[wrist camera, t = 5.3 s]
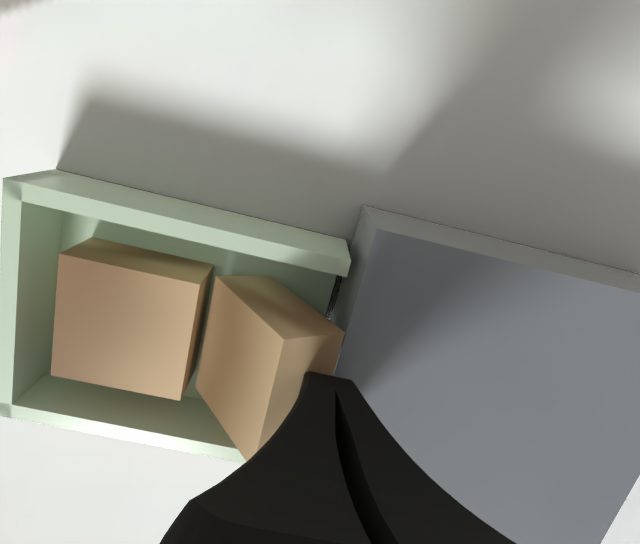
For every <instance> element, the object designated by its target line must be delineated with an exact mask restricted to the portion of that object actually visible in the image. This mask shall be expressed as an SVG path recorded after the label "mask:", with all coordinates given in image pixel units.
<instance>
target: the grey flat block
mask: <svg viewBox="0 0 640 544" xmlns="http://www.w3.org/2000/svg"><path fill="white" fill-rule="evenodd" d="M349 255H350V258H351V264H350V267H349V271H348V274H347V277H343V278H342V281H341V285H340V288H339V292H338V296H337V299H336V303H335V306H334V310H333V313H332V317H331V322H332V323H333V324H335V325H336V326H337V327H339V328H340V329H341V330H342V331H344V332H345V335H344V338H343V342H342V345H341V349H340V352H339V356H338V359H337V363H336V366H335V370H334V373H333V376H335V377H340V378H345V379H349V380H352V381H353V382H354V384H355V385H356V386H357V388H358V389H359V391H360V392H361V394H362V395H363V397H364V398H365V400H366V401H367V403H368V404H369V406H370V407H371V408H372V410H373V411H374V413H375V414H376V416H377V417H378V418H379V420H380V421H381V422H382V424H383V425H384V426H385V428H386V429H387V430H388V431H389V433H390V434H391V435H392V437H393V438H394V439H395V440H396V441H397V442H398V444H399V445H400V446H401V447H402V448H403V450H404V451H405V452H406V453H407V454H408V455H409V456H410V457H411V458H412V460H413V461H414V462H415V463H416V464H417V465H418V466H419V467H420V468H421V469H422V470H423V471H424V472H425V473H426V474H427V475H428V476H429V477H430V478H431V479H432V480H434V481H435V482H436V483H437V484H438V485H439V486H440V487H441V488H442V489H444V490H445V491H446V492H447V493H448V494H450V495H451V496H452V497H453V498H454V499H455V500H457V501H458V502H459V503H460V504H461V505H463V506H464V507H465V508H467V509H468V510H469V511H470V512H472V513H473V514H474V515H476V516H477V517H478V518H480V519H481V520H483V521H484V522H485V523H487V524H488V525H490V526H491V527H492V528H494V529H495V530H497V531H498V532H499V533H501V534H502V535H504V536H505V537H507V538H508V539H510V540H512V541H513V542H515V543H517V544H600V543H601V541H602V540H603V538H604V536H605V534H606V533H607V531H608V529H609V527H610V526H611V524H612V522H613V520H614V519H615V517H616V515H617V513H618V512H619V510H620V508H621V506H622V505H623V503H624V501H625V499H626V498H627V496H628V494H629V492H630V491H631V489H632V487H633V485H634V484H635V482H636V480H637V478H638V477H639V475H640V274H637V273H633V272H629V271H625V270H621V269H617V268H613V267H609V266H605V265H601V264H597V263H593V262H589V261H585V260H581V259H577V258H573V257H569V256H565V255H561V254H557V253H553V252H549V251H545V250H541V249H537V248H533V247H529V246H525V245H521V244H517V243H513V242H509V241H505V240H501V239H497V238H493V237H489V236H485V235H481V234H477V233H473V232H469V231H465V230H460V229H456V228H452V227H448V226H444V225H440V224H436V223H432V222H428V221H424V220H420V219H416V218H412V217H408V216H404V215H400V214H396V213H392V212H388V211H384V210H380V209H376V208H372V207H368V206H364V205H363V206H362V210H361V213H360V217H359V221H358V224H357V228H356V231H355V235H354V238H353V242H352V246H351V249H350V253H349Z"/></svg>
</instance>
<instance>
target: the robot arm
mask: <svg viewBox="0 0 640 544" xmlns="http://www.w3.org/2000/svg"><path fill="white" fill-rule="evenodd" d="M160 544H517V543H515V542H513V541H512V540H510V539H508V538H507V537H505V536H504V535H502V534H501V533H499V532H498V531H497V530H495V529H494V528H492V527H491V526H490V525H488V524H487V523H485V522H484V521H483V520H481V519H480V518H478V517H477V516H476V515H474V514H473V513H472V512H470V511H469V510H468V509H467V508H465V507H464V506H463V505H461V504H460V503H459V502H458V501H457V500H455V499H454V498H453V497H452V496H451V495H450V494H448V493H447V492H446V491H445V490H444V489H442V488H441V487H440V486H439V485H438V484H437V483H436V482H435V481H434V480H432V479H431V478H430V477H429V476H428V475H427V474H426V473H425V472H424V471H423V470H422V469H421V468H420V467H419V466H418V465H417V464H416V463H415V462H414V461H413V460H412V458H411V457H410V456H409V455H408V454H407V453H406V452H405V451H404V450H403V448H402V447H401V446H400V445H399V444H398V442H397V441H396V440H395V439H394V438H393V437H392V435H391V434H390V433H389V431H388V430H387V429H386V428H385V426H384V425H383V424H382V422H381V421H380V420H379V418H378V417H377V416H376V414H375V413H374V411H373V410H372V408H371V407H370V406H369V404H368V403H367V401H366V400H365V398H364V397H363V395H362V394H361V392H360V391H359V389H358V388H357V386H356V385H355V384H354V382H353V381H352V380H349V379H345V378H340V377H335V376H331V375H326V374H321V373H317V372H312V371H308V372H307V373H305V374H304V377H303V381H302V384H301V388H300V392H299V395H298V398H297V400H296V402H295V404H294V405H293V407H292V409H291V411H290V412H289V414H288V415H287V416H286V418H285V419H284V421H283V422H282V424H281V425H280V426H279V428H278V429H277V430H276V432H275V433H274V434H273V435H272V436H271V438H270V439H269V440H268V441H267V442H266V443H265V444H264V445H263V446H262V447H261V448H260V449H259V450H258V451H257V452H256V453H255V454H254V455H253V456H252V457H251V458H250V459H249V460H248V461H247V462H246V463H245V464H243V465H242V466H241V467H240V468H238V469H237V470H236V471H234V472H233V473H232V474H230V475H229V476H228V477H226V478H225V479H224V480H223V481H221V482H220V483H218V484H217V485H215V486H213V487H212V488H210V489H208V490H207V491H205V492H203V493H202V494H200V495H198V496H197V497H195V498H193V499H191V500H190V501H189V502H188V503H187V504H186V506H185V507H184V508H183V510H182V511H181V513H180V514H179V515H178V517H177V518H176V519H175V521H174V522H173V524H172V525H171V527H170V528H169V530H168V531H167V532H166V534H165V536H164V537H163V539H162V540H161V542H160Z"/></svg>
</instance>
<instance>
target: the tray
mask: <svg viewBox="0 0 640 544" xmlns="http://www.w3.org/2000/svg"><path fill="white" fill-rule="evenodd" d="M91 237H95V238H99V239H104V240H108V241H112V242H117V243H121V244H126V245H130V246H135V247H139V248H144V249H148V250H153V251H157V252H161V253H166V254H170V255H175V256H179V257H184V258H188V259H193V260H197V261H202V262H206V263H210V264H214V270H213V275H212V281H211V287H210V292H209V298H208V303H207V309H206V314H205V320H204V326H203V331H202V337H201V342H200V348H199V354H198V359H197V365H196V369H195V371H194V373H193V375H192V377H191V379H190V381H189V383H188V386H187V388H186V390H185V392H184V394H183V396H182V398H181V400H180V401H178V400H173V399H168V398H163V397H158V396H153V395H148V394H143V393H138V392H133V391H128V390H123V389H117V388H112V387H107V386H102V385H97V384H92V383H87V382H82V381H77V380H72V379H67V378H62V377H57V376H52V375H51V361H52V347H53V332H54V318H55V303H56V289H57V274H58V260H59V253H61V252H63V251H65V250H67V249H69V248H71V247H73V246H75V245H77V244H79V243H81V242H83V241H85V240H87V239H89V238H91ZM350 264H351V258H350V255H349V251H348V247H347V243H346V240H345V239H341V238H337V237H333V236H329V235H324V234H320V233H316V232H312V231H308V230H304V229H300V228H296V227H291V226H287V225H283V224H279V223H275V222H271V221H267V220H262V219H258V218H254V217H250V216H246V215H242V214H238V213H234V212H229V211H225V210H221V209H217V208H213V207H209V206H205V205H201V204H196V203H192V202H188V201H184V200H180V199H176V198H172V197H167V196H163V195H159V194H155V193H151V192H147V191H143V190H139V189H134V188H130V187H126V186H122V185H118V184H114V183H110V182H106V181H101V180H97V179H93V178H89V177H85V176H81V175H77V174H72V173H68V172H64V171H60V170H56V169H53V170H47V171H41V172H36V173H30V174H24V175H18V176H12V177H6V178H3V192H2V220H1V248H0V416H3V417H9V418H14V419H19V420H24V421H29V422H34V423H39V424H45V425H50V426H55V427H60V428H65V429H70V430H75V431H81V432H86V433H91V434H96V435H101V436H106V437H111V438H117V439H122V440H127V441H132V442H137V443H142V444H147V445H153V446H158V447H163V448H168V449H173V450H178V451H183V452H189V453H194V454H199V455H204V456H209V457H214V458H219V459H225V460H230V461H235V462H240V463H246V460H245V459H244V458H243V456H242V455H241V453H240V452H239V450H238V449H237V447H236V446H235V444H234V443H233V441H232V440H231V438H230V437H229V436H228V434H227V433H226V431H225V430H224V428H223V427H222V425H221V424H220V422H219V421H218V419H217V418H216V416H215V415H214V414H213V412H212V411H211V409H210V408H209V406H208V405H207V403H206V402H205V400H204V399H203V397H202V396H201V394H200V393H199V392H198V390H197V389H196V387H195V385H196V380H197V374H198V369H199V364H200V358H201V353H202V347H203V342H204V336H205V331H206V326H207V320H208V315H209V309H210V304H211V298H212V293H213V287H214V282H215V277H216V276H272V277H273V278H275V279H276V280H277V281H279V282H280V283H281V284H282V285H284V286H285V287H286V288H288V289H289V290H290V291H292V292H293V293H294V294H296V295H297V296H298V297H299V298H301V299H302V300H303V301H305V302H306V303H307V304H309V305H310V306H311V307H312V308H314V309H315V310H316V311H318V312H319V313H320V314H322V315H323V316H324V317H325V316H326V313H327V309H328V306H329V302H330V298H331V295H332V291H333V287H334V284H335V280H336V276H337V275H339V276H343V277H347V274H348V271H349V267H350Z"/></svg>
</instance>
